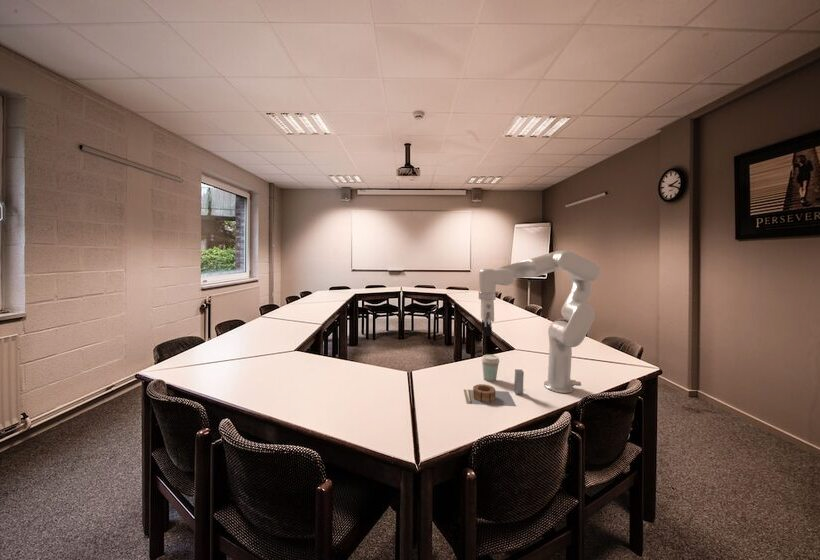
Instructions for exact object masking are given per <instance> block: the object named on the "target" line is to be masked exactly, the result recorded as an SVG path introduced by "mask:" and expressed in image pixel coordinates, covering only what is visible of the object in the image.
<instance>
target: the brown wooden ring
mask: <svg viewBox="0 0 820 560" xmlns="http://www.w3.org/2000/svg"><path fill="white" fill-rule="evenodd" d="M472 390H473V398H474V399H475V400H477V401H479V402H481V401H482V402H487V403H489V402H493V401H495V393H496V391H497V390H496V388H495V387H493V386H492V385H489V384H481V383H479V384H476V385H474V386H473V387H472Z"/></svg>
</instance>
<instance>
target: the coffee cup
mask: <svg viewBox="0 0 820 560" xmlns="http://www.w3.org/2000/svg"><path fill="white" fill-rule="evenodd" d="M481 357H482V358H481V362H482V375H483V381H486V382H488V383H489V382H490V383H494V382H497V375H498V370H499V363H500V358H499V357H498V356H497V355H495V354H484V355H482V356H481Z"/></svg>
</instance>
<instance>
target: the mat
mask: <svg viewBox="0 0 820 560" xmlns="http://www.w3.org/2000/svg"><path fill="white" fill-rule="evenodd" d="M463 393H464V394H463V395H464V397H465V402H466V405H484V406H500V407H501V406H502V407H503V406H504V407H505V406H506V407H517V405H516V403H515V401H514V399H513V397H512V396H511V394H510V391H507V390H506V391H505V390H503V391H502V390H501V391H500V390H496V393H495V401H493V402H489V403H487V402H482V401H481V402H479V401H477V400H475V399H474V398H473V389H468V388H466V389H463Z"/></svg>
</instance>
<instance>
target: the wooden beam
mask: <svg viewBox="0 0 820 560" xmlns="http://www.w3.org/2000/svg"><path fill="white" fill-rule="evenodd" d="M524 374H525V373H524V371H523V369H520V368H519V369H514V383H513V385H514V387H513V393H514V394H515V396H523V394H524V379H525V376H524Z"/></svg>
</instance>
